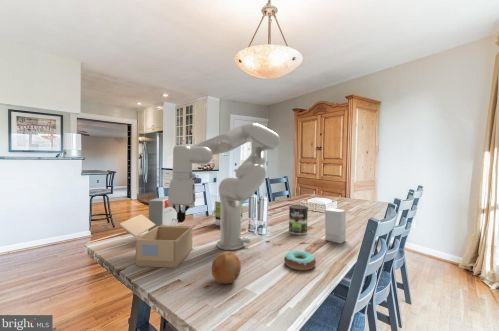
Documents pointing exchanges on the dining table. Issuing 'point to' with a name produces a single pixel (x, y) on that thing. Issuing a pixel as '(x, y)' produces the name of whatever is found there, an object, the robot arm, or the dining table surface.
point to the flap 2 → (192, 227)
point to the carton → (164, 246)
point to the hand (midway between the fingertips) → (181, 221)
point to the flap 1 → (137, 225)
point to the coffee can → (298, 219)
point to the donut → (300, 260)
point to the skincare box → (335, 225)
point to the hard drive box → (161, 212)
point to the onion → (226, 267)
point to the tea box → (218, 212)
